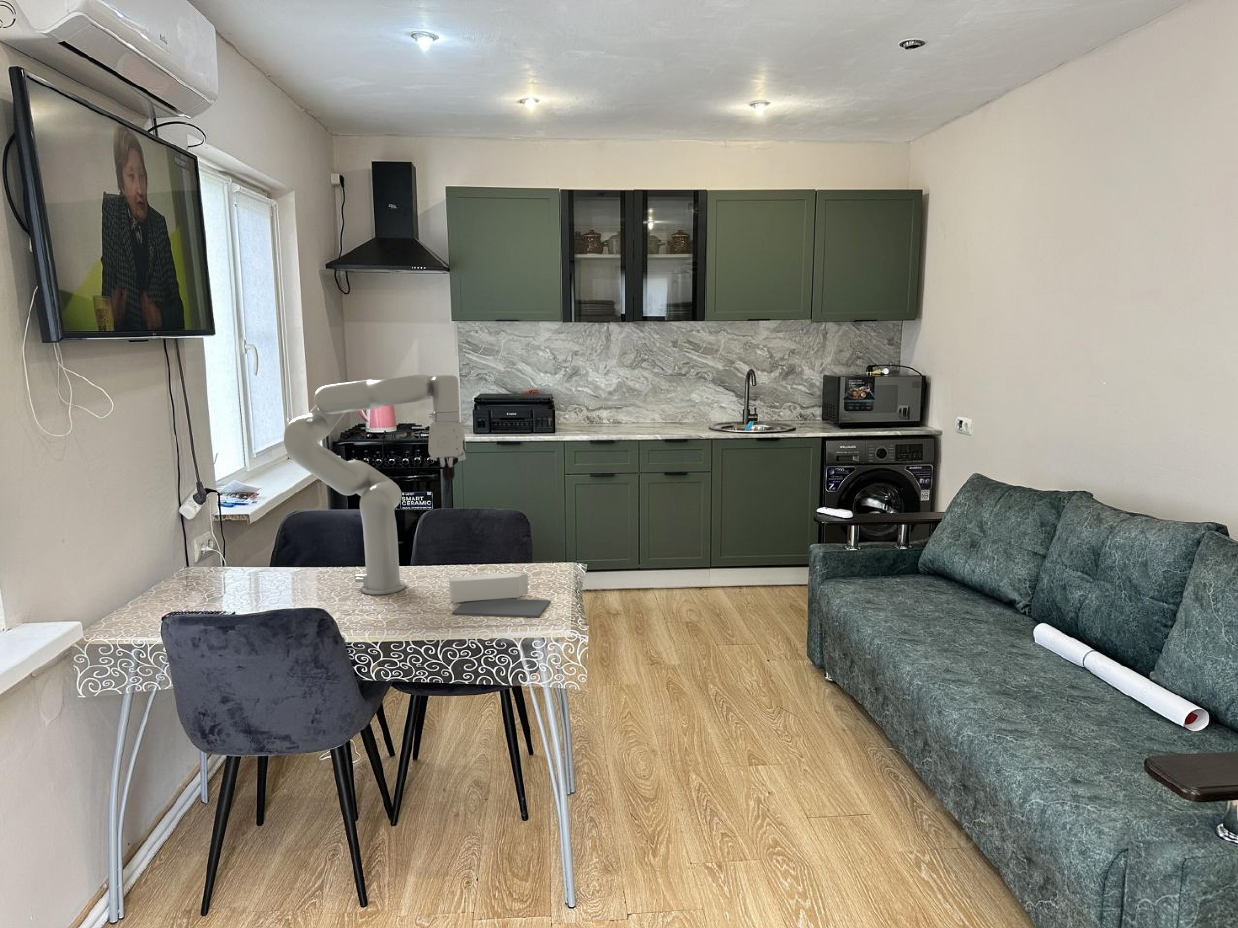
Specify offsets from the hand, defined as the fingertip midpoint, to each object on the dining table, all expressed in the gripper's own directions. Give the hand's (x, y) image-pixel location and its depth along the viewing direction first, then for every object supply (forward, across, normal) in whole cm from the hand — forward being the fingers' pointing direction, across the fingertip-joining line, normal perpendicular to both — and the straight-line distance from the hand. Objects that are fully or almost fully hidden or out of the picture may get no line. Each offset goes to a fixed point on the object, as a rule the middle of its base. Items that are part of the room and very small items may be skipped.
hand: (449, 479), depth 231 cm
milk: (+29, +6, -15) cm, 33 cm away
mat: (+33, +22, -17) cm, 43 cm away
